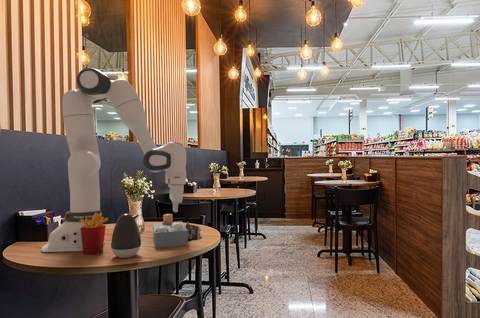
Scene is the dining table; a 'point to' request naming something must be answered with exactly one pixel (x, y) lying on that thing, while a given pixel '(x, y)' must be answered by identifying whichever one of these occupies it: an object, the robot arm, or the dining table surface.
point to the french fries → (93, 235)
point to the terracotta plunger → (167, 219)
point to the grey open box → (170, 236)
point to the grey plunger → (161, 229)
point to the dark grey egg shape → (126, 237)
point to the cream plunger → (176, 225)
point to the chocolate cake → (193, 231)
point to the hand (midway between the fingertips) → (175, 211)
